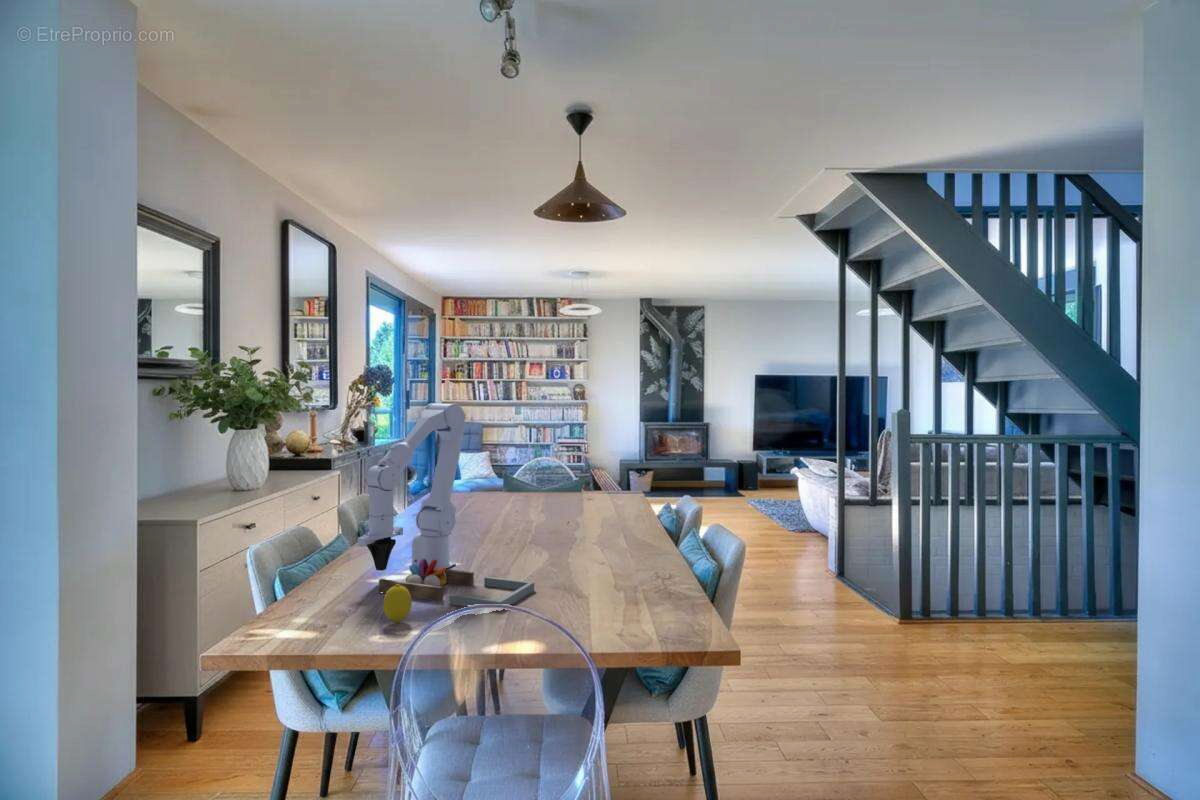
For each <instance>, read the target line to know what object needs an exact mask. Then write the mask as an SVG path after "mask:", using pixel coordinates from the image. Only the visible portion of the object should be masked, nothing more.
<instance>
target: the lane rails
mask: <svg viewBox="0 0 1200 800" xmlns="http://www.w3.org/2000/svg"><path fill="white" fill-rule="evenodd" d="M435 569H439V568H434V570H435ZM444 572H445V574H446V583H447V582H451V583H450V584H455V583H457V584H456V585H462V586H464V585H465V586H474V584H475V581H474V580H475V578H474V575H475V574H474V571H473V572H472V571H468V570H467V571H466V570H465V571H464V570H459V569H458V570H457V569H450V568H447V569H446V570H445V571H444ZM396 584H399V585H401V586H404V587H405V588H407V589H408V591H409V593H410V595H411V598H412V597H413V598H414V599H422V600H426V601H427V600H429V601H435V602H442V601H443V600H444V586H432V585H425V584H417V583H409V582H406V581H399V580H394V579H393V580H392V579H385V578H380V579H378V593H379V592H383V593H382V594H384V593H386V592H387V591H388V590H389V589H390V588H391V587H393V586H395V585H396Z"/></svg>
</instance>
